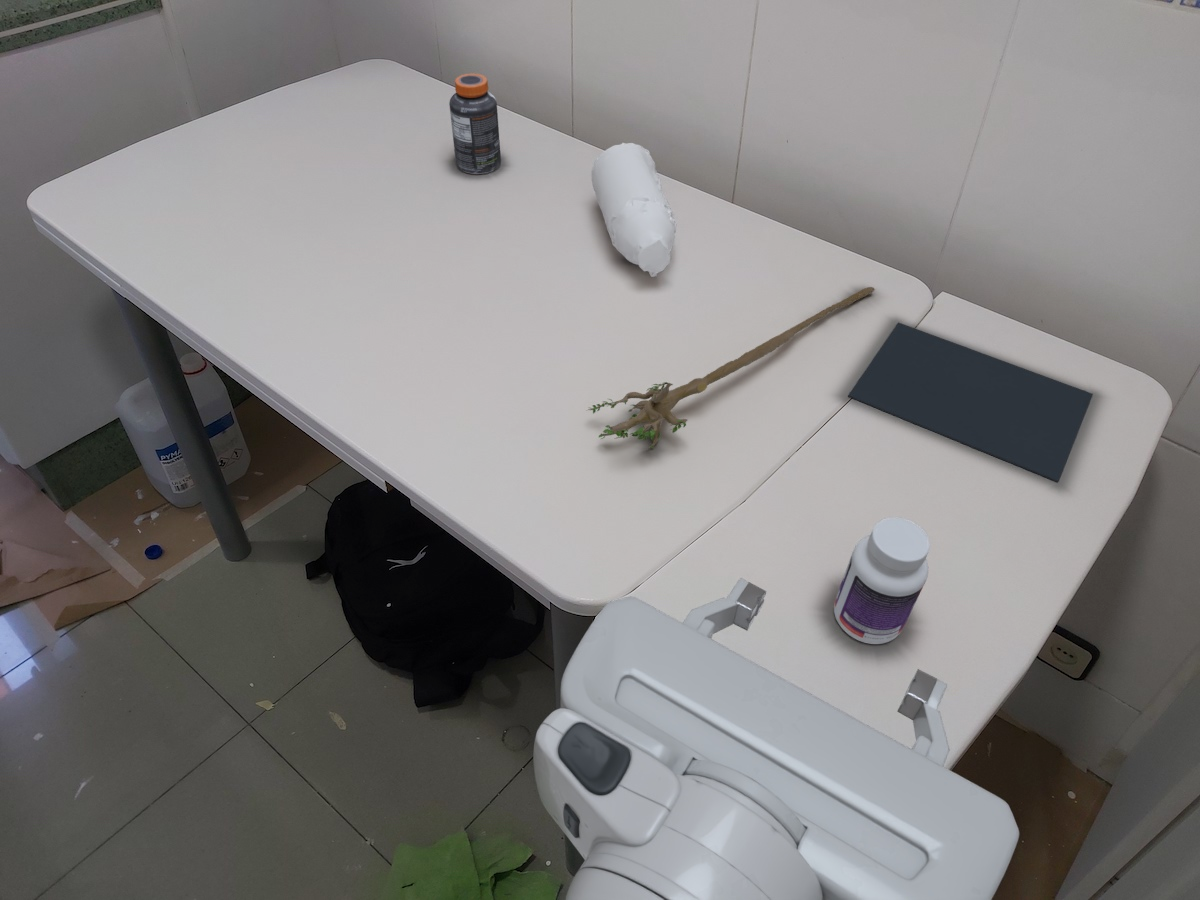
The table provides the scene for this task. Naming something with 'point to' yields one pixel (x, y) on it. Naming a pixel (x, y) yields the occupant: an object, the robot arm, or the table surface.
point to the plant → (700, 384)
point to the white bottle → (634, 206)
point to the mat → (975, 400)
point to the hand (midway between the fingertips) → (837, 634)
